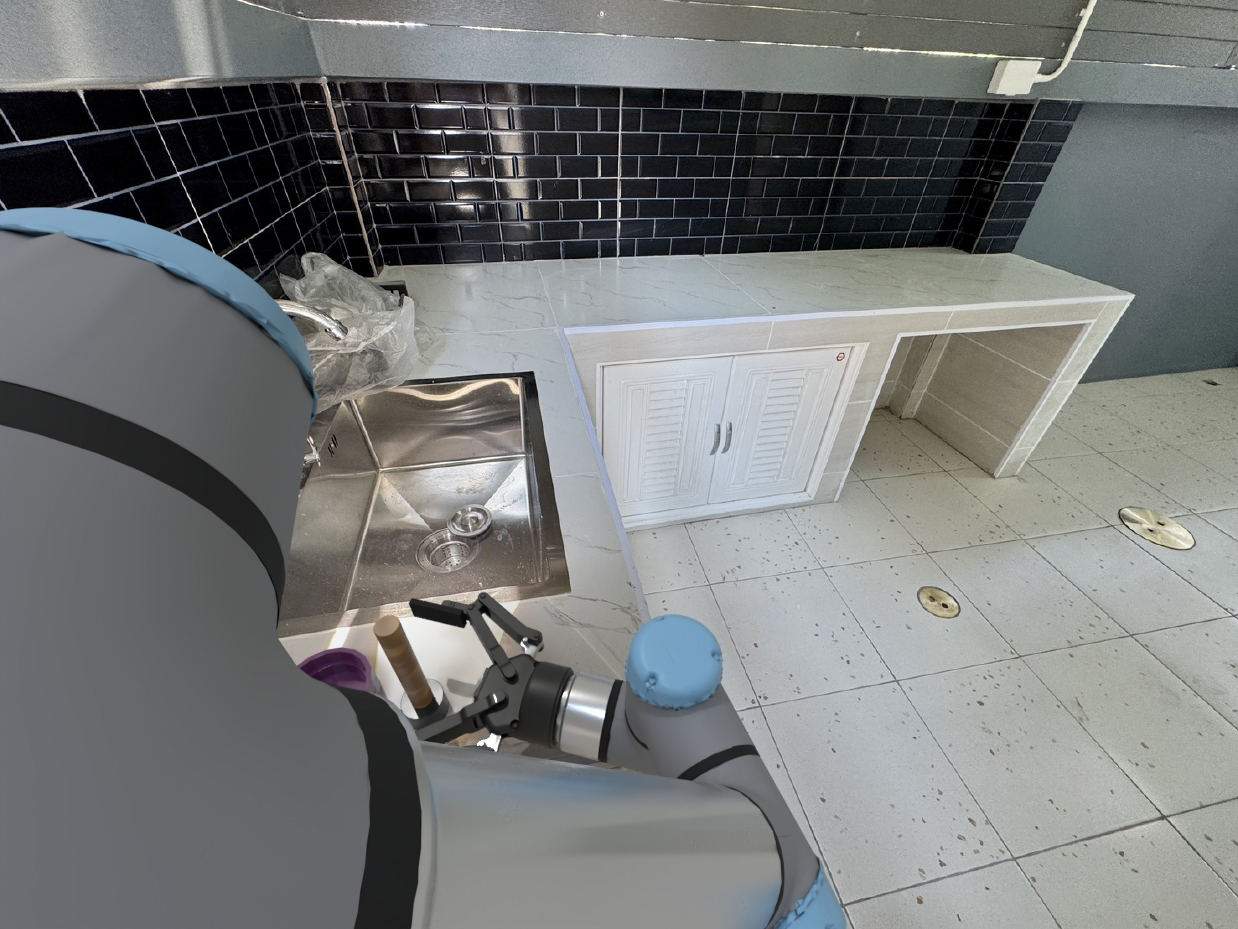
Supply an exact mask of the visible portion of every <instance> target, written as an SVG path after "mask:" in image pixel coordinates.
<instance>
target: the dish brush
mask: <svg viewBox="0 0 1238 929" xmlns="http://www.w3.org/2000/svg"><path fill="white" fill-rule="evenodd" d="M403 627H404V626H403V625H402V623H401V620H400V619H399V617H398V616H396V615H393V614H387V615H384V616H382V617H380V618H379V619H377V621H376V622H375V623H374V625H373V629H372V630H373V634H374V636H375V637H376V640H377V641H378V643H379V645H380V647H381V649H382V651H383V653H384V655H385V657H386V658H387V660H388V662H389V664H390V666H391V668H392V670H393V672H394V673H395V675H396V678H397V680H398V681H399V683H400V685H401V687H402V689H403V691H404V692H403V694H402V696H401V699H400V710H401V711H402V712H403V713H404V714H405V716H406V718H407V719H408V721H409V722H410V724H411V726H412V727H413V729H414V731H417V730H419V729H421V728H424V727H426V726H428V725H430V724H432V723H435V722H437V721H439V720H441V719H444V718H446V717H447V714H448V711H449V706H450V705H449V704H450V703H449V698H448V697H447V694H446V692H445V690H444V687H443V685H442V684H441V682H440V681H438V680H436V679H434V678H426V675H425V673H424V671H423V669H422V666H421V665H420V661H419V659H418V658H417V655H416V653H415V651H414V649H413V647H412V645H411V643H410V640H409V638H408V636H407V633H406V631H405V629H404V628H403Z"/></svg>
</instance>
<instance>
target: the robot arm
mask: <svg viewBox="0 0 1238 929" xmlns="http://www.w3.org/2000/svg"><path fill="white" fill-rule="evenodd" d="M314 377H315V376H314V367H313V362H312V358H311V355H310V351H309V350H308V347H307V344H306V342H305V340H304V338H303V336H302V334H301V333H300V331H299V329H298V327H297V325H296V324H295V323H294V321H293V320H292V318H291V316H289V315H287V313H286V312H285V310H283V308H282V307H281V305H280V304H279V303H278V302H277V301H276V299H274V298H273V297H272V296H271V295H270V294H269V293H268V292H267V291H266V290H265V288H263V287H262V286H261V285H260V284H259V283H258V282H257V281H255V280H254V279H253V278H252V277H250V276H249V275H248V274H246V273H245V272H244V271H242V269H240V268H238V267H237V266H235V265H234V264H232V263H231V262H230V261H228V260H226V259H224V258H223V257H221V256H219V255H218V254H216V253H215V252H212V251H211V250H209V249H207V248H205V247H204V246H201V245H199V244H198V243H195V242H193V241H191V240H189V239H187V238H185V237H183V236H180V235H178V234H175V233H172V232H171V231H168V230H165V229H162V228H159V227H156V226H154V225H151V224H148V223H144V222H141V221H138V220H134V219H132V218H127V217H122V216H119V215H115V214H110V213H104V212H99V211H93V210H87V209H86V210H85V209H77V208H69V207H68V208H67V207H66V208H65V207H25V208H24V207H23V208H13V209H7V210H0V929H847V927H848V926H847V918H846V915H845V912H844V910H843V907H842V906H841V903H840V902H839V899H838V897H837V895H836V893H835V891H834V888H833V887H832V885H831V882H830V880H829V879H828V876H827V874H826V872H825V868H824V864H823V862H822V860H821V859H820V857H819V856H817V854H816V853H815V852H814V850H813V848H812V846H811V845H810V842H809V841H808V840H807V838H806V835H805V834H804V832H803V831H802V829H801V827H800V825H799V823H798V821H797V820H796V818H795V816H794V814H793V812H792V811H791V809H790V807H789V805H788V803H787V802H786V800H785V797H784V796H783V794H782V793H781V790H780V789H779V787H778V785H777V784H776V782H775V780H774V779H773V778H774V777H773V776H772V775H771V773H770V771H769V769H768V768H767V766H766V763H764V760H763V758H762V757H761V755H760V753H759V751H758V749H757V747H756V745H755V743H754V742H753V741H754V740H752V738H751V736H750V734H749V732H748V731H747V728H746V727H745V724H744V722H743V721H742V719H741V718H740V716H739V713H738V712H737V710H736V708H735V706H734V705H733V703H732V701H731V699H730V697H729V695H728V693H727V692H726V690H725V688H724V686H723V684H722V681H723V672H724V666H723V661H724V659H723V652H722V648H721V646H720V643H719V641H718V639H717V638H716V636H715V634H713V632H712V631H711V630H710V629H709V627H707V626H706V625H705V624H703V623H702V622H700V621H699V620H697V619H695V618H692V617H690V616H687V615H682V614H677V613H675V614H673V613H671V614H664V615H658V616H655V617H653V618H651V619H649V620H647V621H646V622H645V623H643V625H641V626H640V627H639V629H638V630H637V631H636V632H635V634H634V636H633V637H632V639H631V642H630V647H629V652H628V655H627V659H626V660H625V666H624V669H625V672H624V677H625V680H621V679H616V678H613V677H610V676H606V675H601V674H599V673H594V672H590V671H587V670H583V669H580V670H579V671H577V673H576V674H575V671H574V670H573V669H572V667H570V666H565V665H562V664H561V665H560V664H557V663H553V662H549V661H544V660H543V661H539V660H537V659H536V657H537V655H538V653H541V652H542V651H543V650H544V648H545V645H544V637H543V632H542V631H540V630H537V629H534V628H531V627H528V626H526V625H525V624H524V623H523V622H521V620H519V619H518V618H517V617H516V616H514V615H513V614H512V613H511V612H510V611H509V610H508V609H506V608H505V607H504V606H503V605H502V604H500V602H498V601H497V600H496V599H495V598H494V597H492V596H491V595H490V594H489V593H488V592H486V591H482V592H480V593H479V594H478V595H477V598H476V599H475V600H474V601H473V602H471V603H463V602H458V601H455V600H451V599H444V600H442V601H441V603H436V602H431V601H428V600H423V599H418V598H414V597H411V598H410V600H409V601H408V606H409V608H410V611H411V613H412V615H413V617H415V618H418V619H422V620H426V621H431V622H434V623H438V624H439V623H440V624H444V625H448V626H452V627H455V628H460V629H465V628H466V626H467V625H468V622H469V626H471V628H472V629H473V631H474V633H475V634H476V636H477V638H478V640H479V641H480V643H481V645H482V647H483V648H484V651H485V652H486V653H487V655H488V657H489V659H490V661H491V663H492V664H491V665H490V666H489V667H486V668H485V670H484V671H483V674H482V678H481V682H480V684H478V686H477V688H475V691H474V692H473V695H472V697H473V702H471V703H468V704H467V705H465V706H463V707H462V708H460V710H459V711H457V712H455V713H452V714H450V715H448V716H445V718H444V719H441V720H439V721H437V722H435V723H432V724H430V725H428V726H426V727H424V728H421V729H419V730H415V729H413V727H412V726H411V724H410V722H409V721H408V719H407V718H406V716H405V714H404V713H403V712H402V711H401V708H399V706H397V704H395V703H394V702H393V701H392V700H389V699H388V698H386V697H384V696H382V695H378V694H374V693H370V692H367V691H363V690H357V689H352V688H347V687H342V686H337V685H332V684H327V683H324V682H321V681H319V680H316V679H314V678H311V677H310V676H309V675H307V674H306V673H305V672H304V671H302V670H301V669H300V668H298V667H297V665H298V664H296V662H295V661H294V659H293V658H292V657H291V655H290V653H288V651H287V649H286V648H285V646H284V645H283V643H282V642H281V641H280V639H279V634H278V628H279V620H280V613H281V608H282V602H283V596H284V592H285V585H286V579H287V574H288V566H289V560H290V554H291V547H292V540H293V534H294V528H295V523H296V522H295V521H296V514H297V509H298V501H299V495H300V491H301V489H300V488H301V482H302V476H303V471H304V464H305V458H306V451H307V445H308V438H309V431H310V429H311V427H312V425H313V423H314V421H315V419H316V415H317V410H318V406H319V394H318V391H317V389H316V386H315V384H316V383H315V381H316V379H315V378H314ZM483 615H485V616H486V617H488V619H490V620H491V621H492V622H493V623H494V624H495V625H496V626H498V627H499V628H500V629H501V631H503V632H505V634H506V635H508V636H509V637H510V638H511V639H512V640H514V641H515V642H516V643H517V644H518V645H519V646H520V648H521V651H522V652H524V653H520V654H517V655H514V656H511V657H508V655H507V653H506V652H505V650H504V648H503V647H502V645H501V644H500V643H499V641H498V640H497V638H496V637H495V635H494V633H493V631H492V630H491V628H490V626H489V625H488V623H487V621H486V620H485V618H484V616H483ZM485 728H486V729H487V731H488V733H489V735H490V736H489V737H488V738H486V739H480V740H479V741H478V742H477V743H476V744H468V745H462V746H459V745H453V744H448V743H449V742H452V741H454V740H456V739H458V738H460V737H462V736H465V735H467V734H469V735H470V734H474V733H476V732H478V731H481V730H483V729H485ZM509 738H513V739H516V740H519V741H523V742H526V743H530V744H533V745H537V746H541V747H544V748H548V749H552V748H553V747H555V746H557V744H558V747H559V750H560V751H561V752H564V753H567V754H571V755H575V756H579V757H581V758H585V759H589V760H592V761H596V762H600V763H603V764H609V765H612V766H615V767H619V768H623V769H625V770H621V769H615V768H608V767H603V766H602V767H601V766H594V765H587V764H580V763H574V762H567V761H561V760H554V759H547V758H542V757H533V756H527V755H520V754H515V753H507V752H501V751H500V749H501V745H502V742H503V740H504V739H509ZM627 770H628V771H627Z"/></svg>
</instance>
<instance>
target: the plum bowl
mask: <svg viewBox="0 0 1238 929" xmlns="http://www.w3.org/2000/svg"><path fill="white" fill-rule="evenodd" d="M296 665H297V667H298V668H300V669H301V670H302V671H304V672H305V673H306V674H307V675H309V676H310V677H311V678H314V679H316V680H319V681H321V682H324V683H327V684H332V685H337V686H342V687H347V688H352V689H357V690H363V691H367V692H370V693H374V694H378V695H381V681H380V679H379V678H378V676H377V674H376V672H375V670H374V668H373V667H372V665H371V663H370V661H369V660H368V658H367V656H366V655H364V654H363V653H362V652H360V651H359V650H357V649H354V648H348V647H343V646H342V647H335V648H329V649H323V650H322V651H320V652H317V653H315V654H312V655H310V656H308V657H307V658H305V659H304V660H302V661H301V662H300V663H299V664H296ZM381 696H382V695H381Z"/></svg>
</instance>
